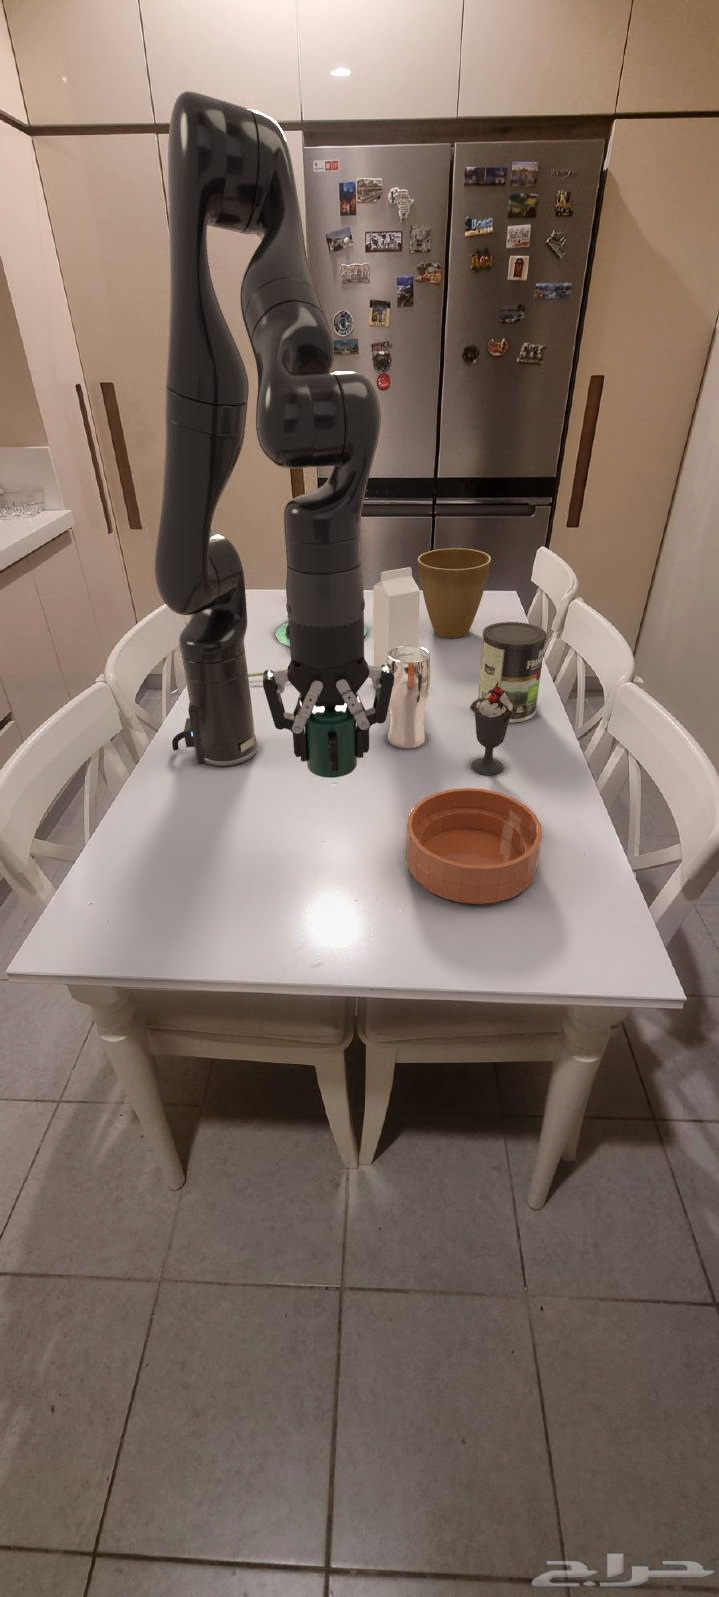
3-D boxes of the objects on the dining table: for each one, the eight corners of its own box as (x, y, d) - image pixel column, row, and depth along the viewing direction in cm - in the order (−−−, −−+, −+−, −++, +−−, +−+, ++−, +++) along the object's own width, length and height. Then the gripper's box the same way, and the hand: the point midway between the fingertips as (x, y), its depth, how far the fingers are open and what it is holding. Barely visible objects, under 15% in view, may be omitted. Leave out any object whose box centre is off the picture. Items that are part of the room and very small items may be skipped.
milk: (373, 686, 131) (371, 567, 118) (401, 679, 133) (402, 562, 121) (389, 698, 126) (388, 576, 114) (417, 691, 128) (420, 570, 116)
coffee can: (544, 704, 123) (555, 627, 115) (523, 728, 116) (533, 649, 108) (490, 691, 128) (497, 617, 120) (466, 714, 121) (472, 636, 113)
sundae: (482, 783, 103) (492, 690, 95) (457, 762, 108) (463, 672, 99) (518, 771, 106) (530, 680, 97) (492, 751, 110) (501, 663, 102)
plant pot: (447, 614, 161) (450, 543, 152) (498, 631, 152) (505, 557, 143) (401, 632, 153) (403, 557, 144) (453, 651, 144) (457, 573, 134)
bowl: (418, 913, 81) (420, 874, 77) (397, 829, 94) (398, 792, 91) (553, 901, 82) (561, 862, 79) (514, 820, 95) (519, 783, 92)
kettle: (360, 784, 75) (359, 716, 70) (308, 788, 75) (304, 720, 70) (352, 738, 83) (351, 674, 79) (305, 741, 83) (301, 677, 78)
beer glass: (424, 751, 111) (428, 664, 102) (381, 748, 112) (381, 661, 103) (430, 730, 116) (433, 645, 108) (388, 727, 118) (389, 643, 109)
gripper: (393, 593, 72) (390, 735, 82) (253, 600, 71) (267, 743, 81) (403, 620, 66) (399, 770, 76) (251, 627, 65) (266, 778, 75)
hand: (331, 755), depth 78 cm, fingers closed on kettle, 5 cm apart
